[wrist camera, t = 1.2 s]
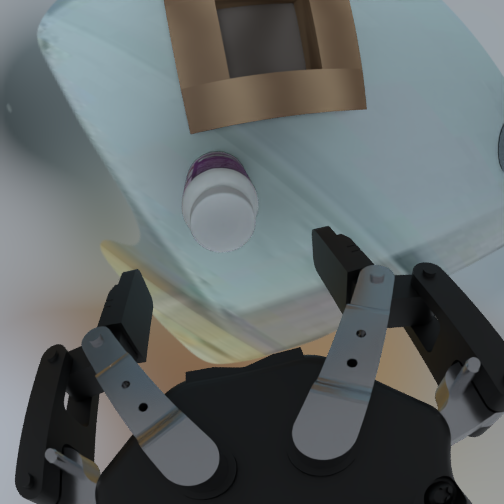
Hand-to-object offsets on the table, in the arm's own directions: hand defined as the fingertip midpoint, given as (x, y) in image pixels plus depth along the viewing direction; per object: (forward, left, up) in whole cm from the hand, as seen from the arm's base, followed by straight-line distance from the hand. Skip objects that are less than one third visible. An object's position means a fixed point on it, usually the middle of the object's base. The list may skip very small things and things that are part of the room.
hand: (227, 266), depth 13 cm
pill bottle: (0, 0, -15) cm, 15 cm away
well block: (-6, -12, -14) cm, 20 cm away
